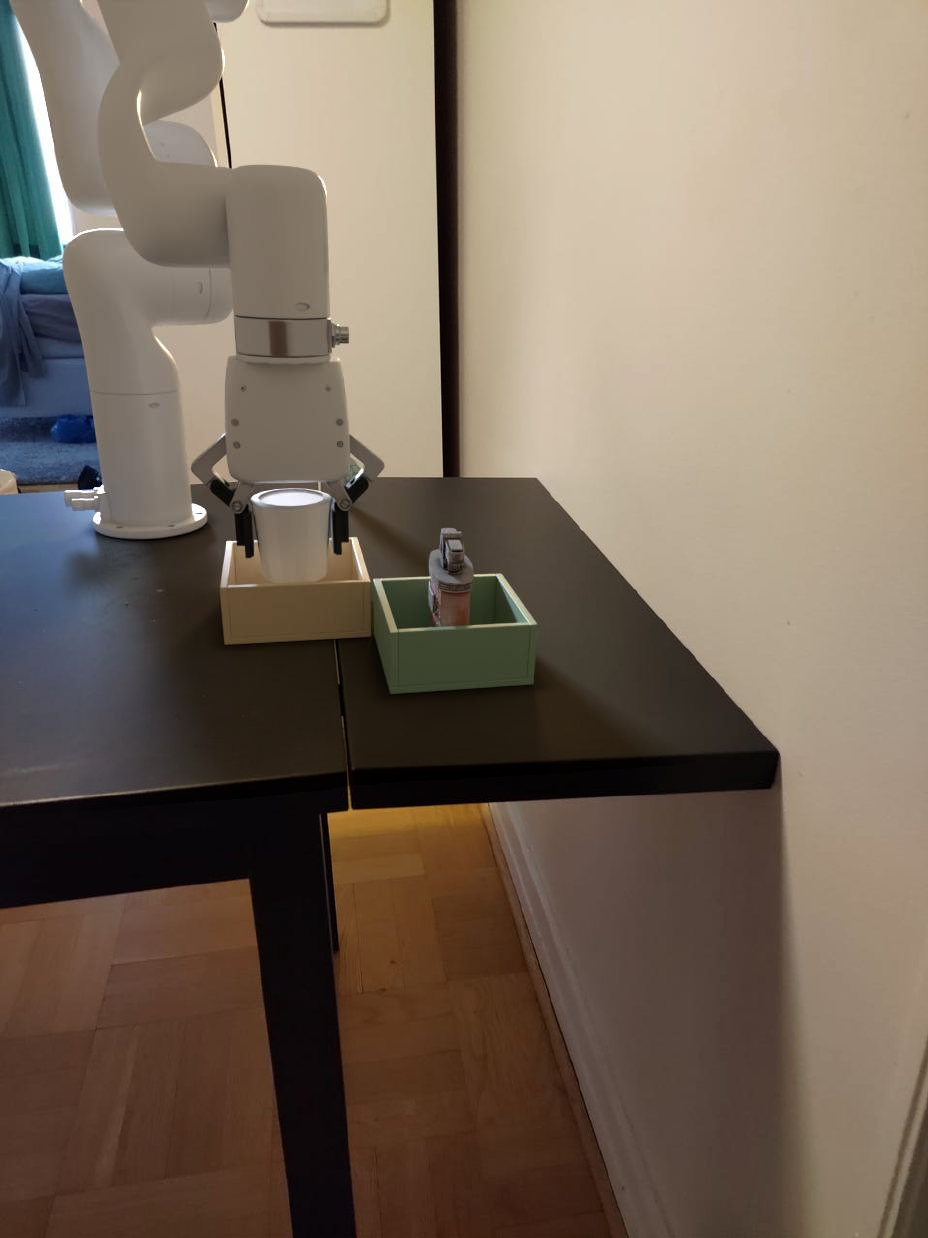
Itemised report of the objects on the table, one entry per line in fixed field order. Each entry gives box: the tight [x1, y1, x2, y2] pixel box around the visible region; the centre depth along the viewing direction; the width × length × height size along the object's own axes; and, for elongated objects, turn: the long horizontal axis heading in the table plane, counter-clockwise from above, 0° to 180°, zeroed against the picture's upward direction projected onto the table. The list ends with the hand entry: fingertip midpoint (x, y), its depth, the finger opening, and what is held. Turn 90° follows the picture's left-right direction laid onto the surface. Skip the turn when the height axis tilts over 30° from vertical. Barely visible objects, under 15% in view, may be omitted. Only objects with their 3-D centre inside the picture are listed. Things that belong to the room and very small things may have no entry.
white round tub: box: [249, 487, 333, 583], centre depth 74 cm, size 7×7×7 cm
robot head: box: [341, 455, 362, 486], centre depth 110 cm, size 8×4×7 cm, turn 31°
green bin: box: [372, 573, 539, 695], centre depth 69 cm, size 11×11×5 cm
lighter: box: [428, 527, 475, 628], centre depth 68 cm, size 8×3×10 cm, turn 7°
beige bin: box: [219, 536, 372, 646], centre depth 76 cm, size 12×12×5 cm
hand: (293, 550), depth 75 cm, fingers closed on white round tub, 6 cm apart
